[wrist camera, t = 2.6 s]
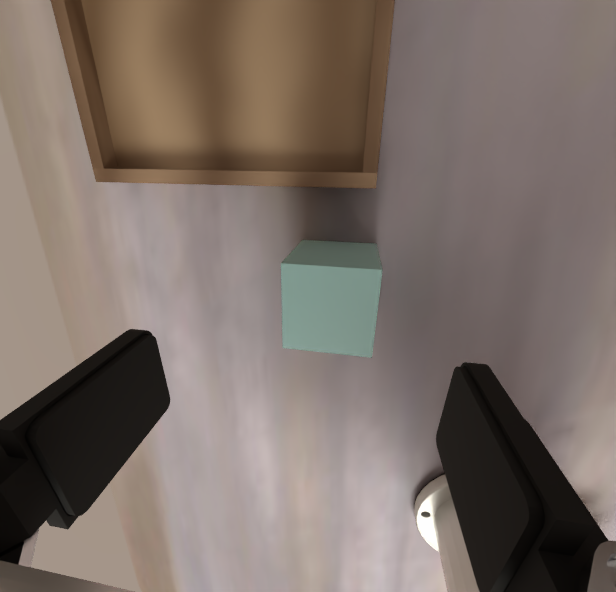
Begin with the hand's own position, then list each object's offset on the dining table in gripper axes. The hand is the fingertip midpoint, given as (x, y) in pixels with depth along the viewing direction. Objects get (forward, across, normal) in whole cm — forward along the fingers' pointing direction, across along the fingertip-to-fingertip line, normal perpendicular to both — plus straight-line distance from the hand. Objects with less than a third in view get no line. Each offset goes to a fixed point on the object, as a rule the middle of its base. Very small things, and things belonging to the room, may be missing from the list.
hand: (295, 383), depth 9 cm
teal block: (+12, -1, +1) cm, 12 cm away
